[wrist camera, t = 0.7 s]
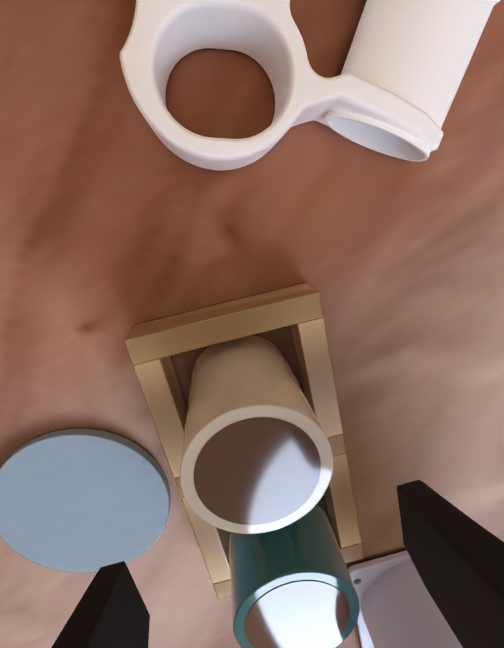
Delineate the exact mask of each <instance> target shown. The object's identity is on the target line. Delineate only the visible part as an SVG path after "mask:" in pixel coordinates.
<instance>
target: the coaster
mask: <svg viewBox="0 0 504 648" xmlns="http://www.w3.org/2000/svg"><path fill="white" fill-rule="evenodd" d="M169 507H170V492H169V486H168V483H167V479H166V477H165V475H164V473H163V471H162V469H161V468H160V466H159V465H158V463H157V462H156V461H155V460H154V459H153V457H152V456H151V455H150V454H149V453H147V452H146V451H145V450H144V449H143V448H141V447H140V446H138V445H137V444H135V443H134V442H132V441H130V440H128V439H126V438H124V437H121V436H119V435H116V434H113V433H110V432H106V431H102V430H95V429H81V428H75V429H64V430H59V431H54V432H50V433H47V434H44V435H41V436H39V437H37V438H35V439H32V440H30V441H29V442H27V443H25V444H24V445H22V446H21V447H20V448H18V449H17V450H16V451H15V452H14V453H12V455H11V456H10V457H9V458H8V459H7V460H6V461H5V463H4V464H3V465H2V466H1V467H0V536H1V537H2V539H3V540H4V541H5V542H6V543H7V544H8V545H9V546H10V547H11V548H12V549H13V550H15V551H16V552H17V553H18V554H20V555H21V556H23V557H24V558H26V559H28V560H30V561H32V562H34V563H36V564H38V565H41V566H44V567H46V568H50V569H54V570H58V571H64V572H74V573H90V572H98V571H99V569H100V568H101V567H104V566H107V565H111V564H115V563H118V562H122V561H125V563H128V562H130V561H132V560H134V559H135V558H137V557H139V556H140V555H141V554H143V553H144V552H145V551H147V550H148V549H149V548H150V547H151V546H152V545H153V544H154V543H155V541H156V540H157V539H158V537H159V536H160V534H161V533H162V531H163V529H164V527H165V524H166V522H167V518H168V513H169Z"/></svg>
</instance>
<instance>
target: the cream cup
mask: <svg viewBox="0 0 504 648" xmlns="http://www.w3.org/2000/svg"><path fill="white" fill-rule="evenodd" d="M332 471H333V455H332V450H331V446H330V443H329V441H328V439H327V437H326V435H325V433H324V431H323V429H322V427H321V425H320V423H319V421H318V419H317V418H316V416H315V414H314V412H313V410H312V408H311V406H310V404H309V402H308V400H307V398H306V396H305V395H304V393H303V391H302V389H301V387H300V385H299V383H298V381H297V379H296V377H295V375H294V373H293V372H292V370H291V368H290V366H289V364H288V362H287V360H286V358H285V357H284V355H283V353H282V352H281V351H280V350H279V349H278V348H277V347H276V346H275V345H274V344H273V343H271V342H270V341H268V340H266V339H264V338H261V337H258V336H255V335H250V336H246V337H242V338H238V339H234V340H230V341H226V342H222V343H218V344H214V345H210V346H208V347H207V348H206V349H205V350H204V351H203V352H202V353H201V354H200V356H199V357H198V359H197V361H196V362H195V364H194V367H193V370H192V375H191V382H190V390H189V399H188V407H187V415H186V423H185V431H184V439H183V448H182V456H181V464H180V485H181V488H182V492H183V494H184V497H185V499H186V501H187V503H188V504H189V506H190V507H191V508H192V510H193V511H194V512H195V513H196V514H197V515H198V516H199V517H201V518H202V519H203V520H204V521H206V522H207V523H209V524H211V525H213V526H215V527H217V528H219V529H222V530H225V531H229V532H234V533H242V534H257V533H265V532H270V531H274V530H277V529H280V528H283V527H285V526H288V525H290V524H292V523H294V522H295V521H297V520H299V519H300V518H302V517H303V516H304V515H306V514H307V513H308V512H309V511H310V510H311V509H313V508H314V507H315V505H316V504H317V503H318V502H319V501H320V499H321V498H322V496H323V495H324V493H325V491H326V489H327V487H328V485H329V482H330V480H331V476H332Z"/></svg>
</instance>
